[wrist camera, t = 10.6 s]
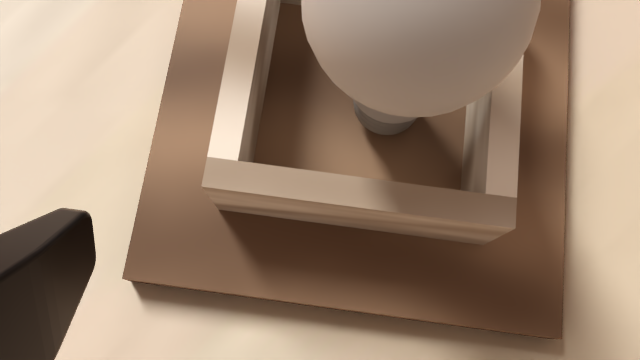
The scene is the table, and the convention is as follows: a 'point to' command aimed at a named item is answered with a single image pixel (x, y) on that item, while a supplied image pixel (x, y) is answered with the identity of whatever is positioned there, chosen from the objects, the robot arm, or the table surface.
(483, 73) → the lightbulb
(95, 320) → the table surface
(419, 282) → the socket board
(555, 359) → the table surface
